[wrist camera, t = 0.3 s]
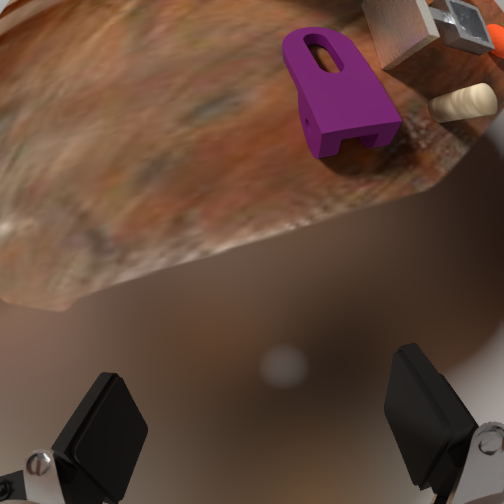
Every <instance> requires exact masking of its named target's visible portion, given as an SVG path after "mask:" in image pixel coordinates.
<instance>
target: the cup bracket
mask: <svg viewBox="0 0 504 504" xmlns="http://www.w3.org/2000/svg"><path fill="white" fill-rule="evenodd" d="M429 6H430V7H428V6H427V4H426V1H425V0H364V1H363V3H362V4H361V7H362V9H363V12H364V15H365V18H366V20H367V23H368V26H369V29H370V32H371V35H372V39H373V42H374V45H375V48H376V52H377V55H378V59H379V63H380V67H381V70H391V69H392V68H394V67H395V66H397V65H398V64H400V63H401V62H403V61H404V60H405V59H407V58H408V57H410V56H411V55H413V54H414V53H416V52H417V51H419V50H420V49H422V48H423V47H425V46H426V45H428V44H429V43H431V42H432V41H434V40H436V39H437V38H439V37H440V36H439V33H438V30H437V28H436V26H437V27H438V28H439V31H440V34H441V36H442V39H443V42H444V45H445V46H447V47H451V48H455V49H458V50H462V51H466V52H469V53H472V54H476V55H482V54H484V53H487V52H489V51H492V50H494V49H495V48H494V45H493V43H492V40H491V37H490V35H489V32H488V30H487V27H486V25H485V23H484V20H483V18H482V16H481V14H480V11H479V9H478V8H477V7H475V6H473V5H470V4H468V3H465V2H463V1H460V0H434V1H433V2H432V3H431V4H429Z"/></svg>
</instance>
